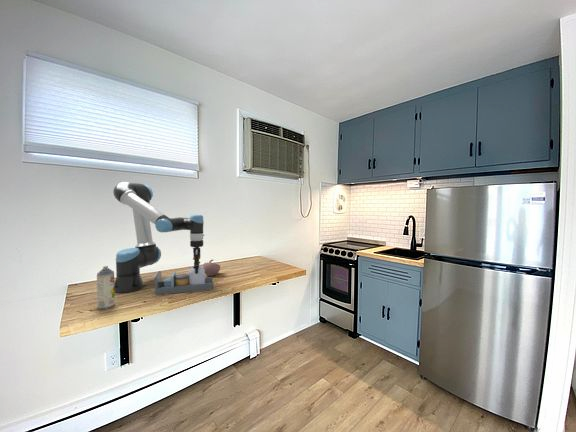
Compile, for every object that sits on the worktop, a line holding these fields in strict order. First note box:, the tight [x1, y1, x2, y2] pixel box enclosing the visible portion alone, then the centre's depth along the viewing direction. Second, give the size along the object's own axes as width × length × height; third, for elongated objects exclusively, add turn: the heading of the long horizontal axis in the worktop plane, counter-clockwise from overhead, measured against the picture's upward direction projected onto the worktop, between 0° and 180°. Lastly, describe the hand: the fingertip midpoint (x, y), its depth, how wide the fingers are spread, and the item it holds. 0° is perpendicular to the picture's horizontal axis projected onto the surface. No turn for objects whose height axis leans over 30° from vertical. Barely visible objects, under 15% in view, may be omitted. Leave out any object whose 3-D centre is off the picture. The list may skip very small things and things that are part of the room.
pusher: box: [163, 271, 177, 288], centre depth 139 cm, size 5×10×9 cm, turn 20°
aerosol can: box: [96, 265, 116, 310], centre depth 115 cm, size 7×7×20 cm
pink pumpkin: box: [202, 259, 221, 277], centre depth 168 cm, size 12×12×12 cm
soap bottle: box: [188, 247, 206, 285], centre depth 144 cm, size 9×9×25 cm
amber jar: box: [175, 273, 189, 286], centre depth 141 cm, size 8×8×8 cm
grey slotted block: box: [154, 270, 214, 296], centre depth 142 cm, size 31×13×10 cm, turn 110°
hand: (196, 276), depth 144 cm, fingers closed on soap bottle, 9 cm apart
